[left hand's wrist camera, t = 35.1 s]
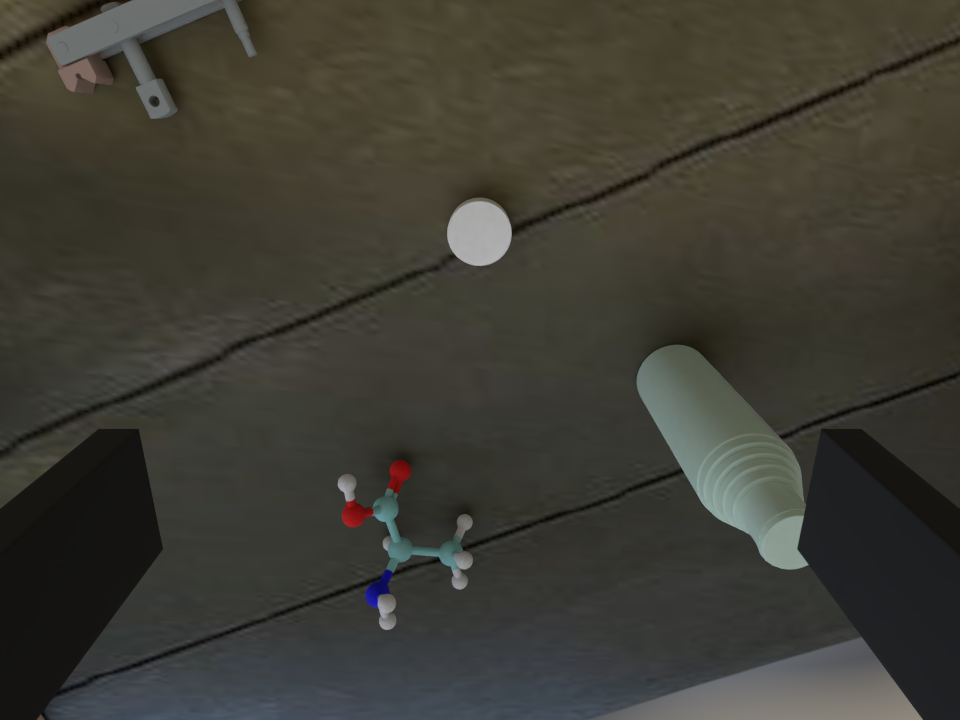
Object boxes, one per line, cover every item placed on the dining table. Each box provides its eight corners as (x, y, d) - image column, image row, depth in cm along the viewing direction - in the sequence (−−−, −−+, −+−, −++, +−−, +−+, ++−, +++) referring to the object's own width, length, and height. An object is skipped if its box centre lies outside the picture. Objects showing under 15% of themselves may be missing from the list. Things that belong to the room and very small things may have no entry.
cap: (469, 270, 44) (469, 277, 42) (436, 219, 43) (434, 223, 41) (521, 238, 43) (523, 244, 41) (489, 185, 42) (489, 188, 40)
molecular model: (524, 508, 46) (453, 628, 39) (481, 556, 53) (414, 665, 46) (394, 414, 47) (303, 516, 40) (368, 474, 54) (287, 569, 47)
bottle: (630, 408, 47) (723, 586, 29) (643, 340, 46) (751, 486, 28) (700, 414, 48) (835, 595, 30) (716, 348, 46) (871, 497, 28)
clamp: (94, 142, 39) (-3, -40, 35) (114, 141, 41) (23, -31, 38) (325, 47, 37) (244, -153, 34) (333, 51, 39) (258, -137, 36)
